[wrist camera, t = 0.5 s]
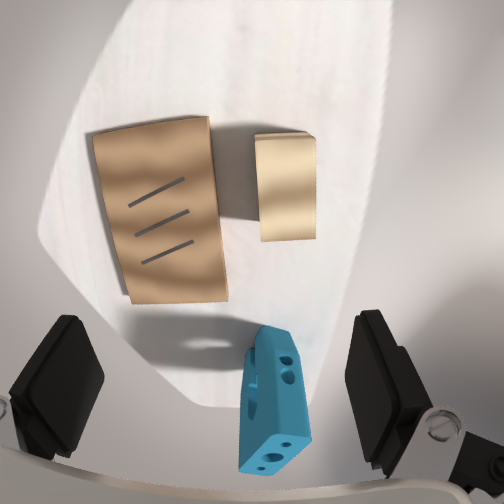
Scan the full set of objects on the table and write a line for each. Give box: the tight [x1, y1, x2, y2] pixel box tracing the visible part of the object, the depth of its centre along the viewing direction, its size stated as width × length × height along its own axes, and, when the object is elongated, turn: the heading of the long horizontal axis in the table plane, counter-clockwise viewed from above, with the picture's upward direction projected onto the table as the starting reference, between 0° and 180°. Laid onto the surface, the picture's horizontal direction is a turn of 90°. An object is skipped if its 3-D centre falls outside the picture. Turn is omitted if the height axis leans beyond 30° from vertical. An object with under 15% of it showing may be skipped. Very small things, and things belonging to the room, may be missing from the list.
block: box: [239, 326, 312, 476], centre depth 42 cm, size 12×5×20 cm, turn 159°
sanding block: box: [254, 132, 316, 242], centre depth 36 cm, size 11×6×6 cm, turn 4°
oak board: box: [92, 117, 229, 304], centre depth 40 cm, size 24×14×2 cm, turn 4°
